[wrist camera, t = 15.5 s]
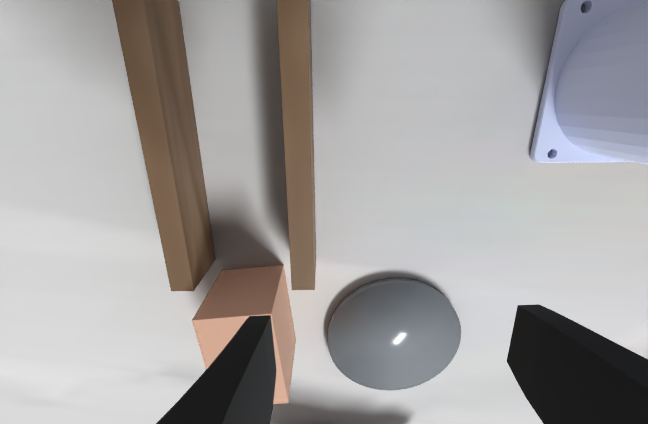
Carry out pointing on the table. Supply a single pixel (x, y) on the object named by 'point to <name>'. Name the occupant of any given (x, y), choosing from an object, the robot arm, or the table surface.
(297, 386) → the table surface
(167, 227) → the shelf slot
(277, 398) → the block
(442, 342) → the coaster
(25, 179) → the table surface
